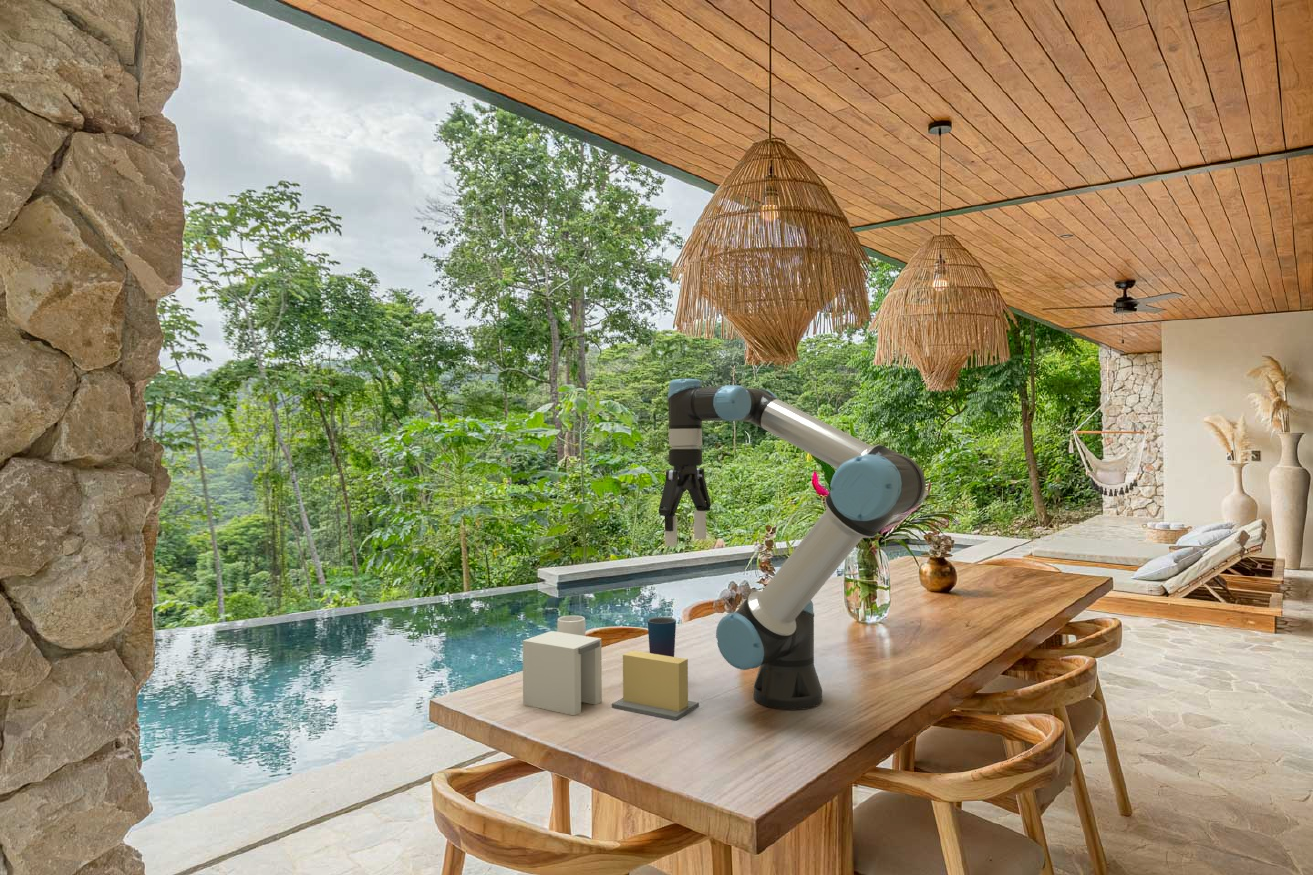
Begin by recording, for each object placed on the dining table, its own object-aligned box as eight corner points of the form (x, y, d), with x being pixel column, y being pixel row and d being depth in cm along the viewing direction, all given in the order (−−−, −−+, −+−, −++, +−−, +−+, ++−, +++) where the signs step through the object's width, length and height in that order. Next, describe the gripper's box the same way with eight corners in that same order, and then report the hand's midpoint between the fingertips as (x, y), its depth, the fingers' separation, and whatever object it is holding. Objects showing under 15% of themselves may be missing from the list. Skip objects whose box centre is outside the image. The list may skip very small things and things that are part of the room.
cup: (681, 680, 187) (680, 618, 187) (669, 689, 181) (669, 624, 181) (655, 677, 190) (654, 615, 190) (643, 685, 184) (642, 621, 184)
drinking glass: (581, 685, 184) (580, 622, 184) (553, 684, 185) (553, 620, 185) (589, 677, 190) (588, 615, 190) (562, 675, 192) (562, 614, 192)
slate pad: (698, 706, 169) (698, 702, 169) (676, 720, 160) (676, 716, 160) (636, 694, 177) (636, 690, 177) (611, 707, 169) (611, 703, 169)
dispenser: (603, 702, 172) (603, 638, 172) (576, 715, 163) (576, 649, 164) (551, 691, 180) (551, 630, 180) (523, 704, 171) (522, 640, 171)
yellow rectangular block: (688, 705, 167) (687, 658, 167) (678, 711, 164) (678, 663, 164) (632, 695, 174) (632, 650, 174) (623, 700, 171) (622, 654, 171)
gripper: (696, 447, 188) (697, 535, 188) (642, 448, 166) (642, 548, 166) (724, 447, 184) (725, 537, 184) (672, 448, 163) (673, 550, 163)
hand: (686, 542), depth 175 cm, fingers open, 13 cm apart
